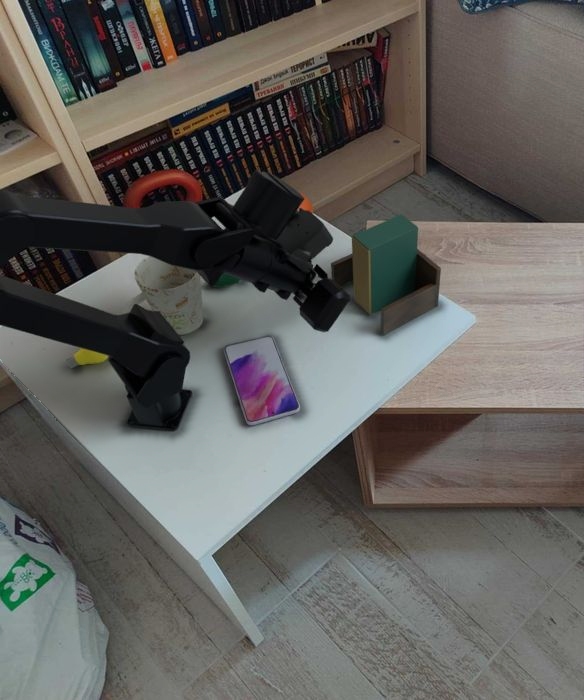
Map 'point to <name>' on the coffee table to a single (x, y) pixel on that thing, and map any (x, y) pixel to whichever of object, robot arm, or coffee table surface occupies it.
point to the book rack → (408, 305)
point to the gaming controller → (227, 280)
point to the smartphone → (261, 380)
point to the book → (384, 263)
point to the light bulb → (85, 358)
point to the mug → (170, 293)
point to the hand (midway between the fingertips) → (333, 290)
